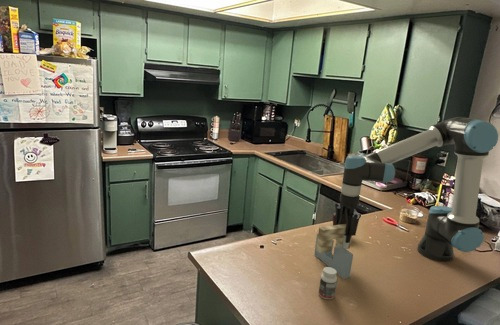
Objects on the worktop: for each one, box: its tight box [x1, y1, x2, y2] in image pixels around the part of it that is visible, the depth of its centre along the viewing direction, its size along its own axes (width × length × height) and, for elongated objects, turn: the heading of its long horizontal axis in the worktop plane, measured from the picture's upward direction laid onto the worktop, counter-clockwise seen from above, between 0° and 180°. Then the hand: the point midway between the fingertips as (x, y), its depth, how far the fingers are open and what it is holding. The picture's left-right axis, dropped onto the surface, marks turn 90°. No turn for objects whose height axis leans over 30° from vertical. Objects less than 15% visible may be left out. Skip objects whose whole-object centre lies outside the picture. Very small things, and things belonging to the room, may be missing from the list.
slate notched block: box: [313, 233, 354, 280], centre depth 144 cm, size 20×3×10 cm, turn 24°
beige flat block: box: [315, 224, 353, 253], centre depth 143 cm, size 15×3×10 cm, turn 114°
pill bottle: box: [318, 266, 338, 300], centre depth 124 cm, size 6×6×10 cm
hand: (342, 246), depth 146 cm, fingers closed on beige flat block, 3 cm apart
